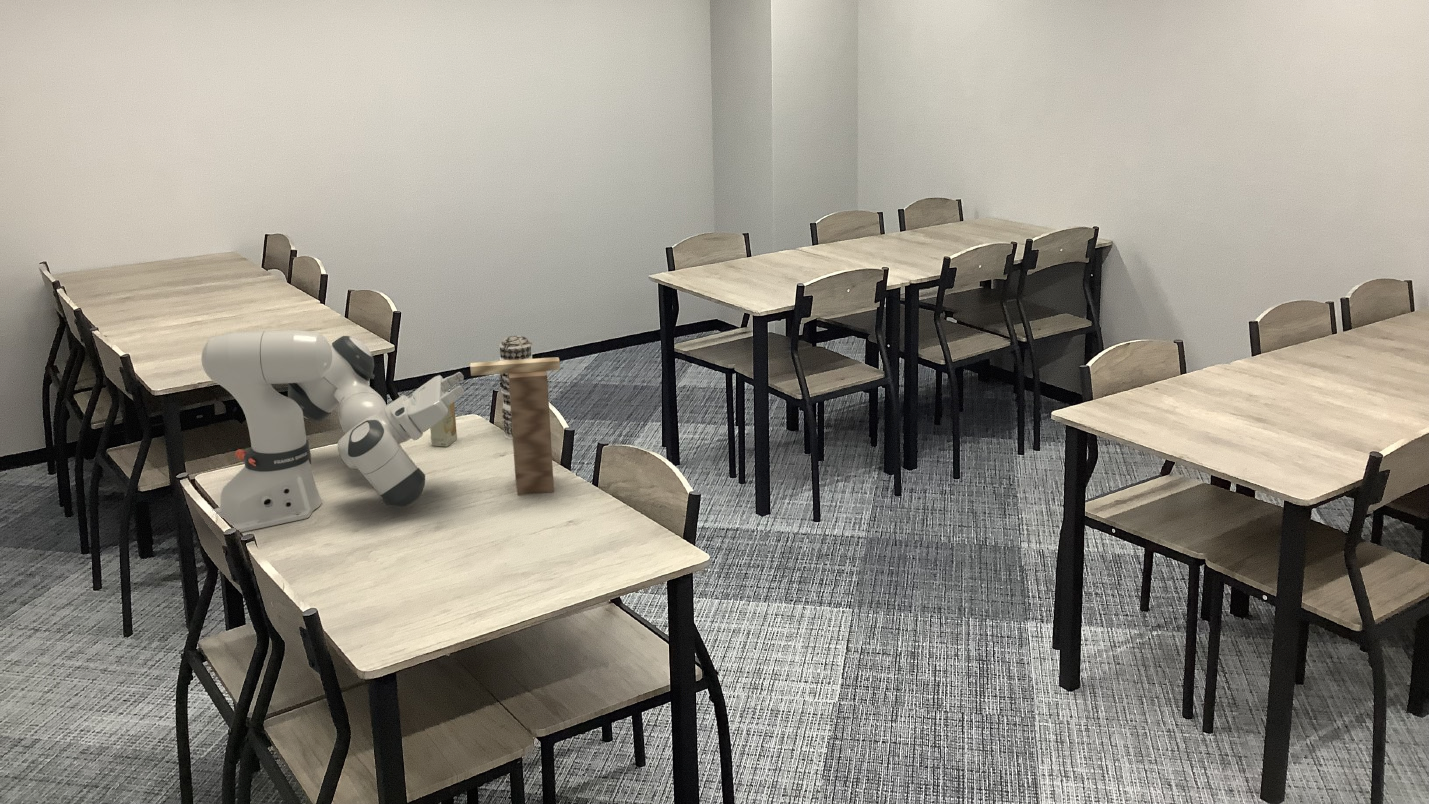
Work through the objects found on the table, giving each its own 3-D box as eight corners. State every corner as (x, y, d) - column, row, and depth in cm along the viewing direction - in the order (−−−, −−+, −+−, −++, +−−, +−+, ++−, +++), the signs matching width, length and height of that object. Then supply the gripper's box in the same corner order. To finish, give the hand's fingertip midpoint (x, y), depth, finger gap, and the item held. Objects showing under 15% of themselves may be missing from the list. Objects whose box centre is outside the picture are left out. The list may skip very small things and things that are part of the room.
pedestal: (517, 495, 264) (509, 377, 255) (515, 478, 273) (507, 364, 264) (553, 491, 265) (547, 375, 257) (550, 475, 274) (544, 362, 266)
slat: (471, 375, 257) (470, 366, 256) (470, 371, 260) (470, 362, 259) (559, 369, 260) (559, 360, 260) (558, 365, 263) (558, 357, 262)
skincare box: (447, 447, 292) (443, 399, 289) (431, 446, 293) (426, 399, 289) (458, 438, 298) (454, 391, 295) (441, 437, 299) (437, 390, 295)
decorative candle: (518, 425, 307) (511, 331, 299) (546, 431, 302) (541, 336, 294) (494, 436, 299) (487, 340, 291) (523, 442, 295) (517, 345, 287)
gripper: (418, 411, 269) (470, 378, 269) (415, 443, 250) (471, 407, 250) (401, 389, 267) (453, 356, 267) (397, 420, 248) (453, 384, 248)
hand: (462, 381), depth 258 cm, fingers open, 8 cm apart
